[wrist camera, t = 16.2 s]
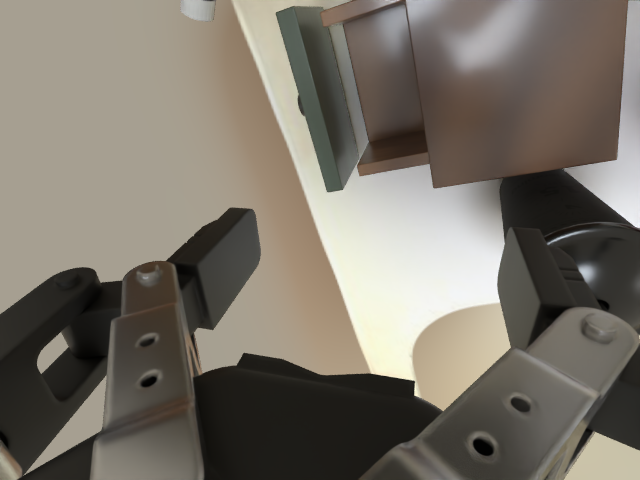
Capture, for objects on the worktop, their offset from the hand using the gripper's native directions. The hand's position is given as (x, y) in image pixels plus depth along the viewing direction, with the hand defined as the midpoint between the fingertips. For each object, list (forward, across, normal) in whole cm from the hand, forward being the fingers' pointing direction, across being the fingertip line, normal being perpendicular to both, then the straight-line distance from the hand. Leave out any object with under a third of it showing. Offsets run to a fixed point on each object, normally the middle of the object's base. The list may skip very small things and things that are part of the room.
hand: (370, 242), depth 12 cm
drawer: (+20, +3, -2) cm, 21 cm away
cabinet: (+21, -6, -4) cm, 22 cm away
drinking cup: (+21, -10, +6) cm, 25 cm away
